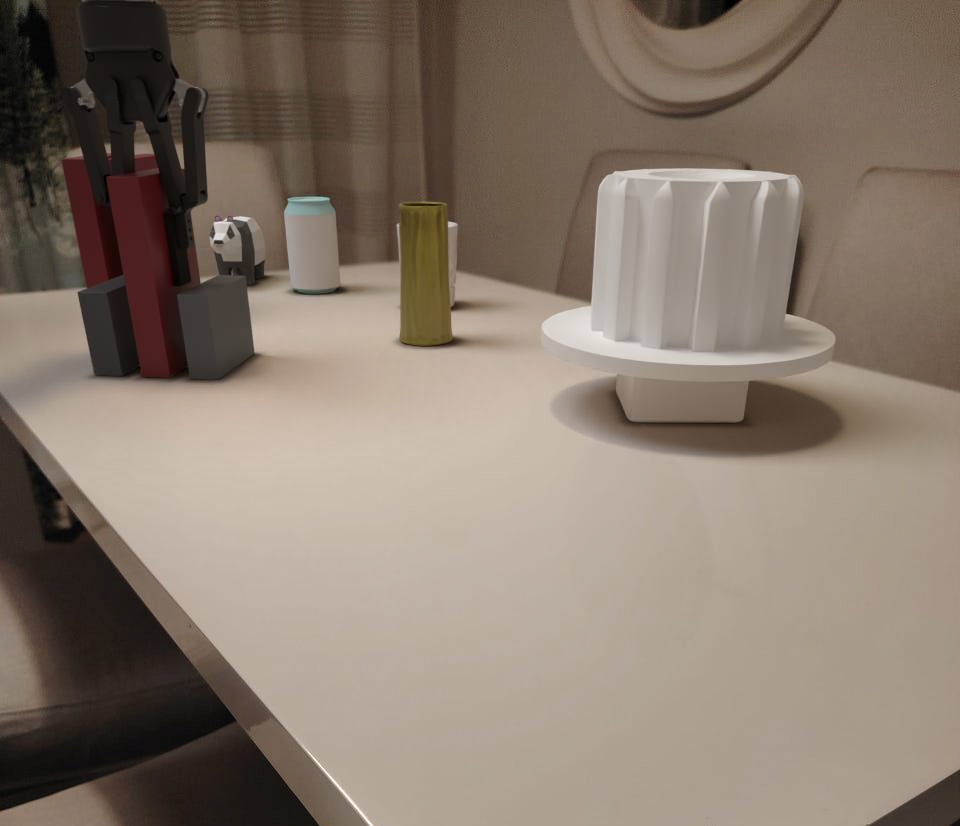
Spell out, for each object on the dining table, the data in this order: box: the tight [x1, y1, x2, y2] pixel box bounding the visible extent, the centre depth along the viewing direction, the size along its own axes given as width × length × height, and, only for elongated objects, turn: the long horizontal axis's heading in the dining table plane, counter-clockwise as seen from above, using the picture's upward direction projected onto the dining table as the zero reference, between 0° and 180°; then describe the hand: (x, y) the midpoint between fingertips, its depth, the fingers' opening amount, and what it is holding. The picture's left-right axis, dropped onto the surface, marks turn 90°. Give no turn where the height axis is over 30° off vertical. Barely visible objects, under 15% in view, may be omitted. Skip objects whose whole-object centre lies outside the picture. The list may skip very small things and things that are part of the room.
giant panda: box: [208, 215, 267, 286], centre depth 137 cm, size 15×6×10 cm, turn 176°
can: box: [283, 196, 341, 295], centre depth 132 cm, size 7×7×12 cm
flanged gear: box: [540, 167, 836, 424], centre depth 80 cm, size 25×25×19 cm
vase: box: [398, 201, 454, 347], centre depth 104 cm, size 6×6×14 cm
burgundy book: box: [106, 168, 202, 379], centre depth 94 cm, size 3×11×18 cm, turn 173°
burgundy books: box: [60, 152, 158, 289], centre depth 116 cm, size 8×11×18 cm
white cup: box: [396, 221, 459, 308], centre depth 123 cm, size 8×8×10 cm
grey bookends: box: [77, 274, 256, 381], centre depth 96 cm, size 13×11×8 cm
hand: (164, 282), depth 94 cm, fingers closed on burgundy book, 3 cm apart
